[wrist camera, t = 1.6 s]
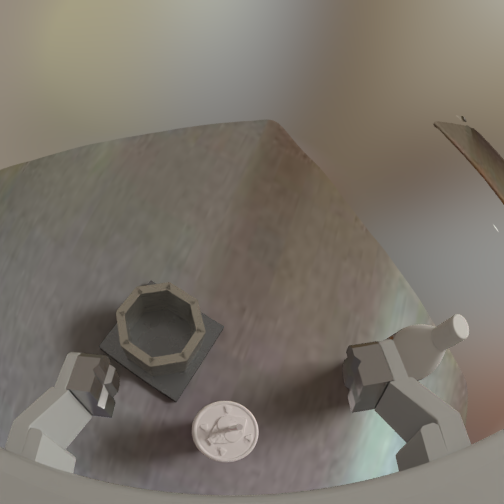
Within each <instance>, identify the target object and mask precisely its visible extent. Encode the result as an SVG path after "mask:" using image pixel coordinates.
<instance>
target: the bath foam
mask: <svg viewBox="0 0 504 504" xmlns="http://www.w3.org/2000/svg"><path fill="white" fill-rule="evenodd" d="M468 334H469V327H468V323H467V321H466V320H465V318H464V317H463V316H461V315H459V314H457V315H454V316H452V317H451V318H449V319H448V320H446V321H445V322H443V323H441V324H440V325H438V326H437V327H434V326H430V325H424V324H416V325H411V326H408V327H406V328H403V329H401V330H400V331H398V332H397V333H395V334H393V335H392V336H390V337H389V338H387V339H385V340H388V339H392V340H393V341H394V343H395V346H396V348H397V351H398V353H399V355H400V358H401V360H402V363H403V365H404V368H405V370H406V373H407V375H408V378H409V377H413V378H414V379H416V380H417V381H419V380H421V379H423V378H425V377H426V376H428V375H429V374H431V373H432V372H433V371H434V370H435V369H436V368H437V366H438V365H439V363H440V362H441V360H442V358H443V355H444V353H445V351H446V349H448V348H450V347H452V346H454V345H456V344H458V343H459V342H461V341H463V340H465V339H466V338H467V337H468Z"/></svg>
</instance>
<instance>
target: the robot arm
mask: <svg viewBox="0 0 504 504" xmlns="http://www.w3.org/2000/svg"><path fill="white" fill-rule="evenodd" d="M346 353H347V358H346V359H345V360H344V363H343V380H344V384H345V386H346V387H347V388H348V389H350V391H349V394H348V401H349V405H350V409H351V413H353V412H359V411H365V410H371V409H375V411H376V412H377V413H378V414H379V415H380V416H381V417H382V418H383V419H384V420H385V421H386V422H387V423H388V424H389V425H390V426H391V427H392V428H393V429H394V430H395V431H396V432H397V433H398V435H399V436H400V437H401V438H402V439H403V440H404V441H405V442H406V444H405V445H404V446H403V447H402V448H401V449H400V450H399V451H398V453H397V454H396V460H397V464H398V468H399V472H396V473H393V474H389V475H385V476H381V477H378V478H373V479H369V480H365V481H361V482H356V483H351V484H346V485H341V486H335V487H329V488H323V489H316V490H309V491H301V492H292V493H281V494H266V495H197V494H183V493H172V492H163V491H155V490H148V489H141V488H135V487H129V486H123V485H118V484H113V483H109V482H104V481H100V480H95V479H91V478H87V477H84V476H80V475H76V474H73V471H74V466H75V461H76V458H75V457H74V455H72V454H71V453H69V452H68V451H67V450H65V449H66V448H67V447H68V446H69V444H70V443H71V442H72V441H73V440H74V438H75V437H76V436H77V435H78V434H79V432H80V431H81V430H82V429H83V428H84V426H85V425H86V424H87V423H88V422H89V420H90V419H91V418H92V417H93V416H101V417H109V418H112V415H113V411H114V407H115V400H114V398H113V397H114V396H115V395H116V394H117V393H118V390H119V386H120V378H119V374H118V372H117V370H116V368H114V367H113V366H111V365H110V362H111V361H110V359H109V358H108V356H107V355H99V354H88V353H78V352H70V353H69V354H68V355H67V357H66V359H65V361H64V364H63V366H62V369H61V371H60V374H59V376H58V379H57V382H56V384H55V387H51V388H50V389H48V390H47V391H46V392H45V393H44V394H43V395H42V396H41V397H39V398H38V399H37V400H36V401H35V402H34V403H33V404H32V405H30V406H29V407H28V408H27V409H26V410H25V411H24V412H23V413H22V414H20V415H19V416H18V417H17V418H16V419H15V420H14V422H13V424H12V427H11V430H10V433H9V436H8V440H7V443H6V446H5V449H4V448H2V447H0V504H504V429H503V430H501V431H499V432H497V433H495V434H493V435H491V436H489V437H487V438H485V439H483V440H481V441H479V442H477V443H474V444H472V445H471V443H470V440H469V437H468V434H467V432H466V429H465V426H464V424H463V421H462V418H461V416H460V413H459V412H458V411H456V410H455V409H454V408H452V407H451V406H450V405H448V404H447V403H446V402H445V401H443V400H442V399H441V398H439V397H438V396H437V395H435V394H434V393H433V392H431V391H430V390H429V389H427V388H426V387H425V386H424V385H422V384H421V383H420V382H418V381H417V380H416V379H414V378H413V377H409V378H408V375H407V373H406V370H405V368H404V365H403V363H402V360H401V358H400V355H399V353H398V351H397V348H396V346H395V343H394V341H393V340H392V339H388V340H383V341H374V342H368V343H362V344H356V345H349V346H348V348H347V351H346ZM92 415H93V416H92Z"/></svg>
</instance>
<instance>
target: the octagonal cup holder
mask: <svg viewBox="0 0 504 504" xmlns="http://www.w3.org/2000/svg"><path fill="white" fill-rule="evenodd" d="M116 317H117V323H116V325H115V326H114V327H113V329H112V330H111V331H110V332H109V334H108V335H107V336H106V338H105V339H104V340H103V342H102V343H101V344H100V345H99V347H100V349H102V350H103V351H104V352H105V353H107V354H108V355H109V356H111V357H112V358H113V359H114V360H116V361H117V362H118V363H120V364H121V365H123V366H124V367H125V368H127V369H128V370H129V371H131V372H132V373H134V374H135V375H136V376H138V377H139V378H141V379H142V380H144V381H145V382H146V383H148V384H149V385H151V386H152V387H154V388H155V389H157V390H158V391H160V392H161V393H163V394H164V395H166V396H168V397H169V398H171V399H172V400H174V401H175V402H177V400H178V399H179V397H180V396H181V394H182V392H183V391H184V389H185V388H186V386H187V385H188V383H189V382H190V380H191V379H192V377H193V375H194V374H195V372H196V371H197V369H198V368H199V366H200V365H201V363H202V361H203V360H204V358H205V357H206V355H207V354H208V352H209V350H210V349H211V347H212V346H213V344H214V343H215V341H216V339H217V338H218V336H219V335H220V333H221V332H222V330H223V328H224V326H222V325H221V324H219V323H217V322H216V321H214V320H212V319H211V318H209V317H207V316H206V315H204V314H203V313H201V312H200V308H199V304H198V300H197V299H195V298H194V297H192V296H190V295H189V294H187V293H186V292H184V291H182V290H181V289H179V288H178V287H176V286H175V285H173V284H171V283H169V282H168V283H161V284H156V283H154V282H153V281H150V282H149V284H148V285H146V286H139V287H136V288H135V289H134V291H133V292H132V293H131V294H130V295H129V297H128V298H127V299H126V300H125V301H124V303H123V304H122V305H121V306H120V308H119V309H118V310H117V311H116Z"/></svg>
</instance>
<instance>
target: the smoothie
mask: <svg viewBox="0 0 504 504" xmlns="http://www.w3.org/2000/svg"><path fill="white" fill-rule="evenodd" d="M258 434H259V431H258V425H257V422H256V419H255V417H254V416H253V414H252V413H251V412H250V411H249V410H248V409H247V408H245V407H244V406H242V405H240V404H238V403H236V402H232V401H218V402H214V403H211V404H209V405H207V406H205V407H204V408H203V409H201V410H200V411H199V412H198V414H197V415H196V416H195V418H194V421H193V424H192V437H193V441H194V443H195V445H196V447H197V448H198V449H199V450H200V452H201V453H202V454H203V455H205V456H207V457H208V458H210V459H212V460H216V461H219V462H232V461H237V460H239V459H242V458H244V457H245V456H247V455H248V454H249V453H250V452H251V451H252V450H253V448H254V447H255V445H256V443H257V440H258Z"/></svg>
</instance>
